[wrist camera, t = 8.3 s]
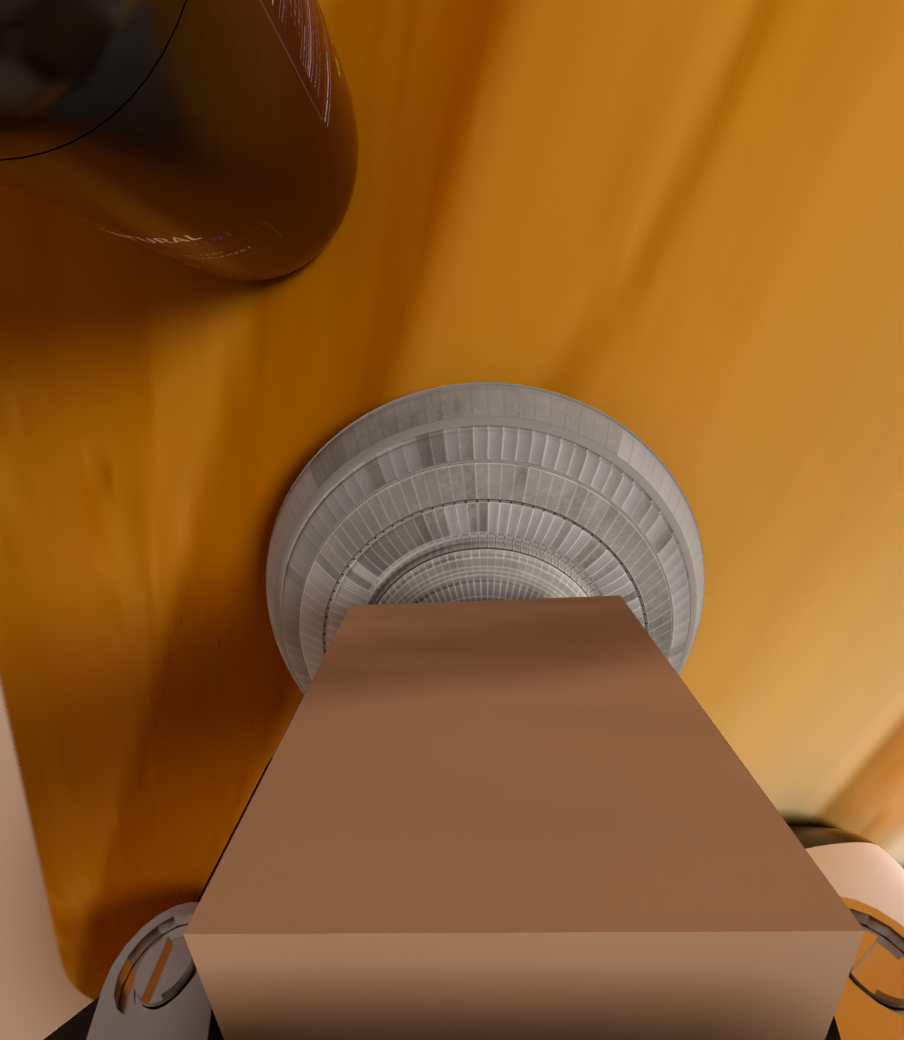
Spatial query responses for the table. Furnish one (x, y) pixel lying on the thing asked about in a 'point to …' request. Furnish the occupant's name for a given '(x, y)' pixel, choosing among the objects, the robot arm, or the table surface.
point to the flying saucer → (482, 518)
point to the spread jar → (856, 868)
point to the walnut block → (514, 849)
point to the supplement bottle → (182, 125)
